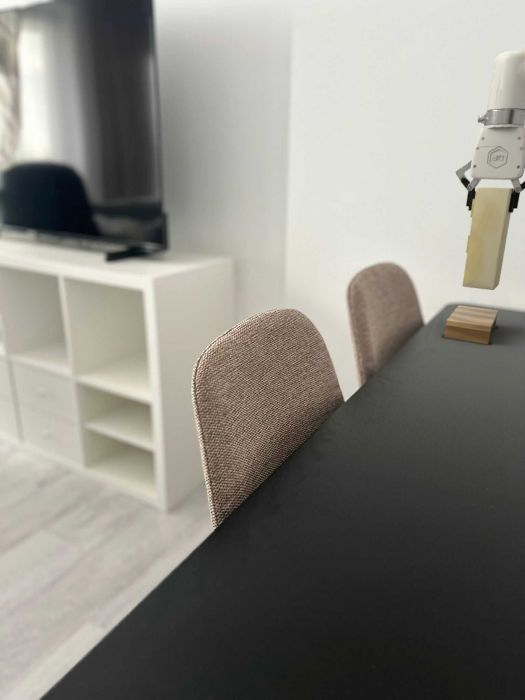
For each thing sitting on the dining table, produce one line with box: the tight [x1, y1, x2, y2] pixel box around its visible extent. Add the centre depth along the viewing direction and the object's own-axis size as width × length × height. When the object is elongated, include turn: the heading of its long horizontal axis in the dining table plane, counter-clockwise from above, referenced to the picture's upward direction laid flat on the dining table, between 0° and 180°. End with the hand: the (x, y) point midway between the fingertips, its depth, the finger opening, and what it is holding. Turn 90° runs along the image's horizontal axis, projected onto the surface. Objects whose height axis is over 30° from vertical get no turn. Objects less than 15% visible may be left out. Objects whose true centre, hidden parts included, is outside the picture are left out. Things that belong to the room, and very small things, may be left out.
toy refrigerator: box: [462, 187, 514, 291], centre depth 111 cm, size 8×7×21 cm
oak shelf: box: [443, 304, 499, 345], centre depth 117 cm, size 16×9×4 cm, turn 151°
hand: (490, 210), depth 110 cm, fingers closed on toy refrigerator, 7 cm apart
